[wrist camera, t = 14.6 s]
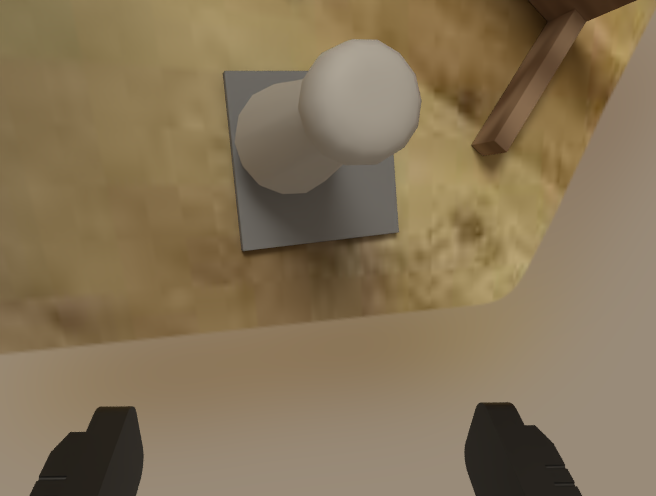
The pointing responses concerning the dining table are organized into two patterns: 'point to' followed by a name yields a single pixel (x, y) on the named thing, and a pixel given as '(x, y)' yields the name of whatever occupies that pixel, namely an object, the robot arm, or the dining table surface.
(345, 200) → the mat
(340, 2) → the dining table surface
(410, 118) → the salt shaker
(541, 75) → the wooden stand
